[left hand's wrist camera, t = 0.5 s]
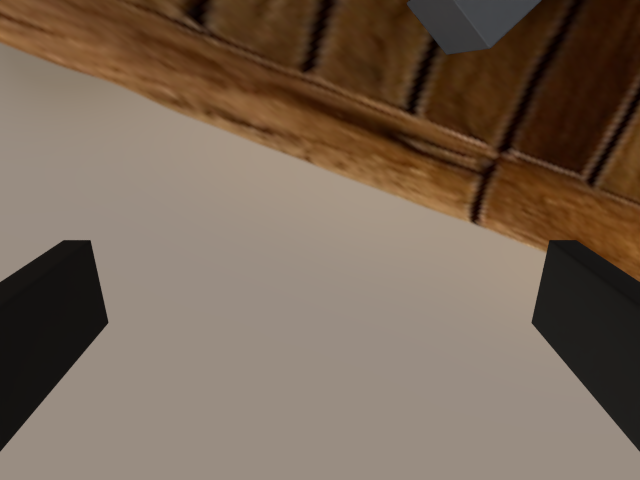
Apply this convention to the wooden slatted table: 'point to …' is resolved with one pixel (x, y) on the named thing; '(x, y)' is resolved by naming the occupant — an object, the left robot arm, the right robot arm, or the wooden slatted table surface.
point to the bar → (469, 21)
